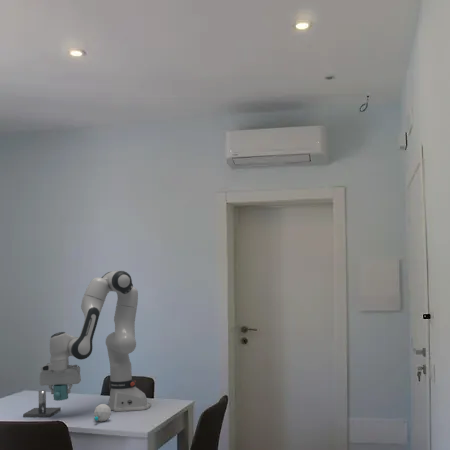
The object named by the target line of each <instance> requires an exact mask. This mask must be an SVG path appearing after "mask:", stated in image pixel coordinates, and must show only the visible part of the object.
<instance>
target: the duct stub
mask: <svg viewBox="0 0 450 450" xmlns="http://www.w3.org/2000/svg"><path fill="white" fill-rule="evenodd" d="M61 410H62V409H61V407H47V390H46V389H39V390H38V407H34V408H32V409H31V410H28V411H27V412H24V413H23V415H22V417H23V418H50V417H52V416H54V415H56V414H57V413H60V411H61Z"/></svg>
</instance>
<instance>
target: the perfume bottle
mask: <svg viewBox="0 0 450 450" xmlns="http://www.w3.org/2000/svg"><path fill="white" fill-rule="evenodd" d="M108 405H109V404H108ZM108 405H107V404H105V403H101V404H99V405H97V406H96V407H95V408H94V412H93V420H94V421H95V422H97V421H98V422H100V423H101V422H102V421H103V422H106V421H107V420H109V419H110V418H111V415H112V410H111V409H110V407H109V406H108Z"/></svg>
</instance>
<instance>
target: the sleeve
mask: <svg viewBox="0 0 450 450" xmlns="http://www.w3.org/2000/svg"><path fill="white" fill-rule="evenodd" d="M52 388H53V391H54V394H52V395H53V400H54V401H57V402H59V401H65V400H68V399H69V393H68V394H67V393H66V390H67V389H69V386H68V384H64V385H53V387H52Z"/></svg>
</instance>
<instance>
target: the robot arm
mask: <svg viewBox="0 0 450 450" xmlns="http://www.w3.org/2000/svg"><path fill="white" fill-rule="evenodd" d="M110 292H114V293H116V295H117V300H116V306H115V311H114V312H115V313H114V317H113V322H114V332H111V333H109V334H108V335H107V336H106V338H105V345H106V348H107V356H108V360H109V369H110V370H109V371H110V373H109V375H110V378H109V379H110V380H109V385H108V386H109V387H108V388H109V389H108V390H109V400H108V406H109V407H110V409H111V411H114V412H129V411H131V412H132V411H145V410H147V409H150V408H151V407H152V403H151V402H148V400H147V399H148V398H147V396H146V393H145V392H143V391H142V390H141V389H140V388H138V387H137V386H136V382H137V381H136V380H134V379H133V378H132V362H131V360H130V356H129V354H131V353H134V351H135V350H136V347H137V341H136V335H135V334H136V333H135V329H136V328H135V327H136V326H135V325H136V323H135V322H136V317H137V309H138V303H139V293H138V292H139V291H138V289H137V288H136V287H134V285H133V280H132V276H131V275H130V274H129V273H128V272H127V271H125V270H112V271H108V272H106V273H105V274H103V275H102V277H100V276H99V277H97V276H96V277H94V278H92V279H91V281H90V282H89V284H88V285H87V288H86V290H85V291H84V295H83V297H82V300H81V305H80V308H81V311H82V313H83V315H84V322H83V325H82V328H81V331H80V333H79V334H80V335H79V336H78V337H77V336H75V335H71V334H69V333H67V332H65V331H61V332H60V331H59V332H55V333H54V334H52V335H51V336H50V338H49V353H50V359H49V362H48V363H46V364H44V365H42V366H41V367H40V373H39V385H40V386H41V387H43V386H48V389H49V390H50V393H51V395H54V391H53V385H64V384H68V389H67V390H66V393H67V394H68V395H69V394H71V389H72V387H73V385H78V384H80V382H82V377H81V366H80V365H78V364H70V363H69V357H73V358H75V359H77V360H80V361H81V360H86V359H87V358H89V357H90V356H91V354H92V353H93V340H94V336H95V332H96V328H97V325H98V321H99V317H100V315H101V312H102V309H103V307H104V304H105V301H106V298H107V296H108V295H109V293H110Z"/></svg>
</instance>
